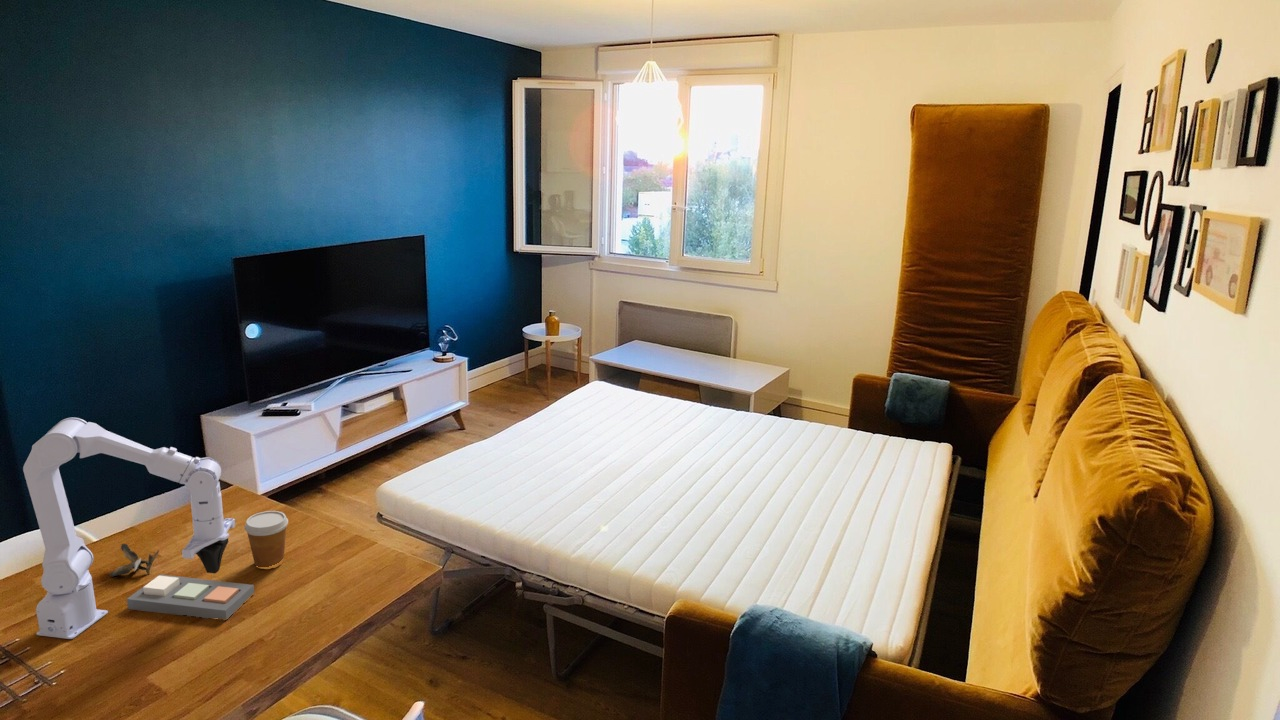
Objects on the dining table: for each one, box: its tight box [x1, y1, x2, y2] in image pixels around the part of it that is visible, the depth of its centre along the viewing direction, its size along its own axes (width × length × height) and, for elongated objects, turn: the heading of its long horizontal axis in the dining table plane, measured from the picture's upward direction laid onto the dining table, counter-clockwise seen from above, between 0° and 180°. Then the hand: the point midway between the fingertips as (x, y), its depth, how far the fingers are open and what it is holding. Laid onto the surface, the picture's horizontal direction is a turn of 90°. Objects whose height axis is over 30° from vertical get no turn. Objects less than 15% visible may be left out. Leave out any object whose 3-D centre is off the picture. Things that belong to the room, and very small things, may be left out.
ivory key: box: [142, 575, 180, 597], centre depth 164 cm, size 5×5×3 cm
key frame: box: [126, 574, 255, 620], centre depth 164 cm, size 10×23×2 cm, turn 85°
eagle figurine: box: [109, 543, 160, 578], centre depth 172 cm, size 8×7×9 cm
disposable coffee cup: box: [244, 510, 289, 567], centre depth 179 cm, size 10×10×12 cm
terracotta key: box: [204, 586, 239, 604], centre depth 163 cm, size 5×5×3 cm
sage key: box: [174, 583, 209, 600], centre depth 163 cm, size 5×5×3 cm
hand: (212, 571), depth 161 cm, fingers closed
